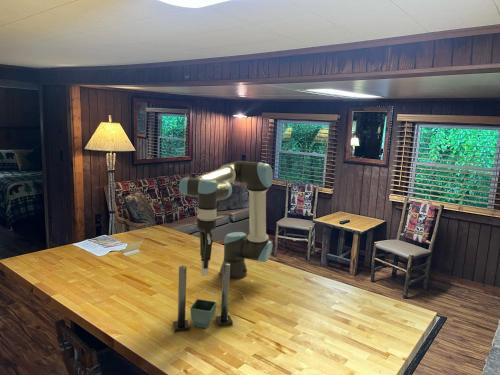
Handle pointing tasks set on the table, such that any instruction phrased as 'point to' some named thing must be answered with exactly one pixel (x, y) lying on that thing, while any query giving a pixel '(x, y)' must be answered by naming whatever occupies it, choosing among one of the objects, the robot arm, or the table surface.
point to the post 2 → (224, 298)
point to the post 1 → (181, 303)
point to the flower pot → (202, 312)
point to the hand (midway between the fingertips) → (204, 274)
